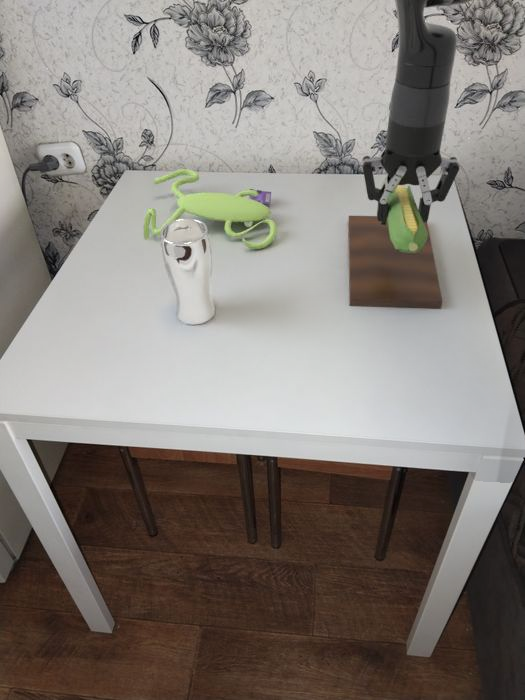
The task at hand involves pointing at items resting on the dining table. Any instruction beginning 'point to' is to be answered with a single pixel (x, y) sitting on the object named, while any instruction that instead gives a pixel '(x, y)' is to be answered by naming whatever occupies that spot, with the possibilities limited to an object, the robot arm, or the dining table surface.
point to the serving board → (389, 269)
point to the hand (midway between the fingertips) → (401, 222)
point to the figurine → (217, 208)
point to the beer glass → (189, 268)
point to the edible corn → (405, 221)
